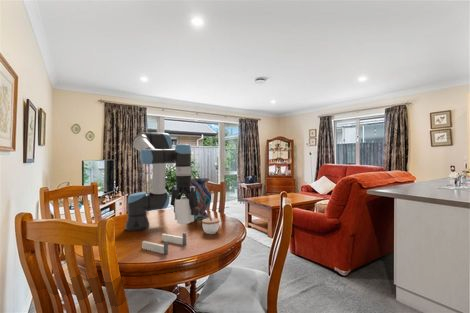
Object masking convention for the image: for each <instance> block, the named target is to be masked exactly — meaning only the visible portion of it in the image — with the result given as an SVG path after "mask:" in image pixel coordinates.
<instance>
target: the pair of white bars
mask: <svg viewBox="0 0 470 313" xmlns="http://www.w3.org/2000/svg"><path fill="white" fill-rule="evenodd" d="M161 241H163V244H160V243H156V242H155V243H154V242H151V241H147V240H143V241H141V248H143V250H146V249H147V251H150V250H151V252H155V253H158V254H162V253H163V254H162V255H168V254H169V243H171V244H177V245H182V246H187V232H182V236H179V235H174V234H168V233H161Z"/></svg>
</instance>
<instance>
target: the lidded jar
mask: <svg viewBox="0 0 470 313" xmlns="http://www.w3.org/2000/svg"><path fill="white" fill-rule="evenodd" d="M201 223H202V224H201V225H202V230H203V231H204V232H205V234H207V235H214V234H215V235H216V233H217V232H218V230H219V228H220V218H217V217H211V216H210V217H209V218H207V219H201Z"/></svg>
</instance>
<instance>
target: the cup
mask: <svg viewBox="0 0 470 313" xmlns="http://www.w3.org/2000/svg"><path fill="white" fill-rule="evenodd" d="M189 209H190V205H189V199H187V198H186V196H181V199H180V200H177V199H176V198H175V210H176V217H177V220H176V221H177V224H178V225H187V224H190V223H191V222H189Z"/></svg>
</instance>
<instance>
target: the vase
mask: <svg viewBox="0 0 470 313" xmlns="http://www.w3.org/2000/svg"><path fill="white" fill-rule="evenodd" d="M210 180H211V179H210V178H208V177H197V178H196V177H195V178H191V183H190V184H191V187H196V195H197V201H198V207H196V208H195V215H194V220H196V221H197V220H203V219H207V218H210V217H211V215H210V214H209V213H207V212H206V210H207V209H208V207H210V205H211V202H212V193H211V192H210V190H209V187H208V182H209V181H210ZM190 192H191V191H190Z"/></svg>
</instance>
